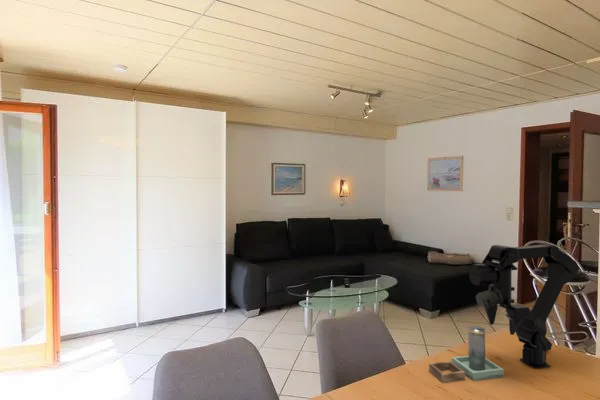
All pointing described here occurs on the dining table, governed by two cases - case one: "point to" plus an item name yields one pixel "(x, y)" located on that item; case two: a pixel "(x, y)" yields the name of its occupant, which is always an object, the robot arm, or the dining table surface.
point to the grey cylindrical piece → (476, 348)
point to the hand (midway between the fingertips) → (501, 329)
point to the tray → (488, 373)
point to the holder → (446, 377)
